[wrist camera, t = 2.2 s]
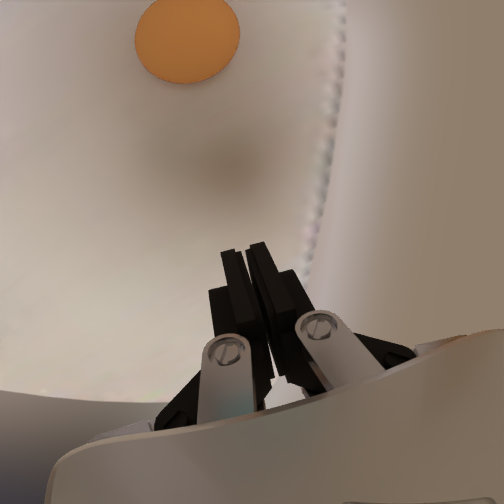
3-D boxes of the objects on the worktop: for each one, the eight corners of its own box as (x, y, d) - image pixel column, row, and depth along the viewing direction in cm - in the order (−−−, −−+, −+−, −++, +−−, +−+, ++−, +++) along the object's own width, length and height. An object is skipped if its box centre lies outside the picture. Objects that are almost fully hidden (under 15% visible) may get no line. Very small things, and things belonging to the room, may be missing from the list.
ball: (135, 16, 15) (118, -7, 10) (224, -3, 16) (238, -32, 11) (151, 93, 18) (138, 96, 13) (238, 74, 19) (257, 70, 14)
